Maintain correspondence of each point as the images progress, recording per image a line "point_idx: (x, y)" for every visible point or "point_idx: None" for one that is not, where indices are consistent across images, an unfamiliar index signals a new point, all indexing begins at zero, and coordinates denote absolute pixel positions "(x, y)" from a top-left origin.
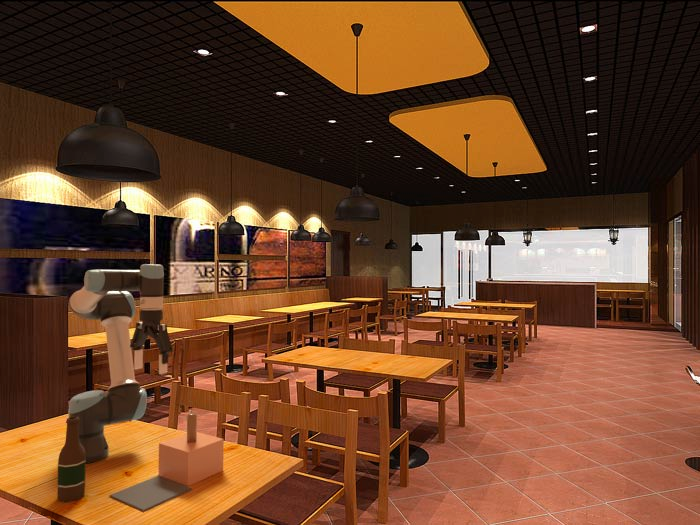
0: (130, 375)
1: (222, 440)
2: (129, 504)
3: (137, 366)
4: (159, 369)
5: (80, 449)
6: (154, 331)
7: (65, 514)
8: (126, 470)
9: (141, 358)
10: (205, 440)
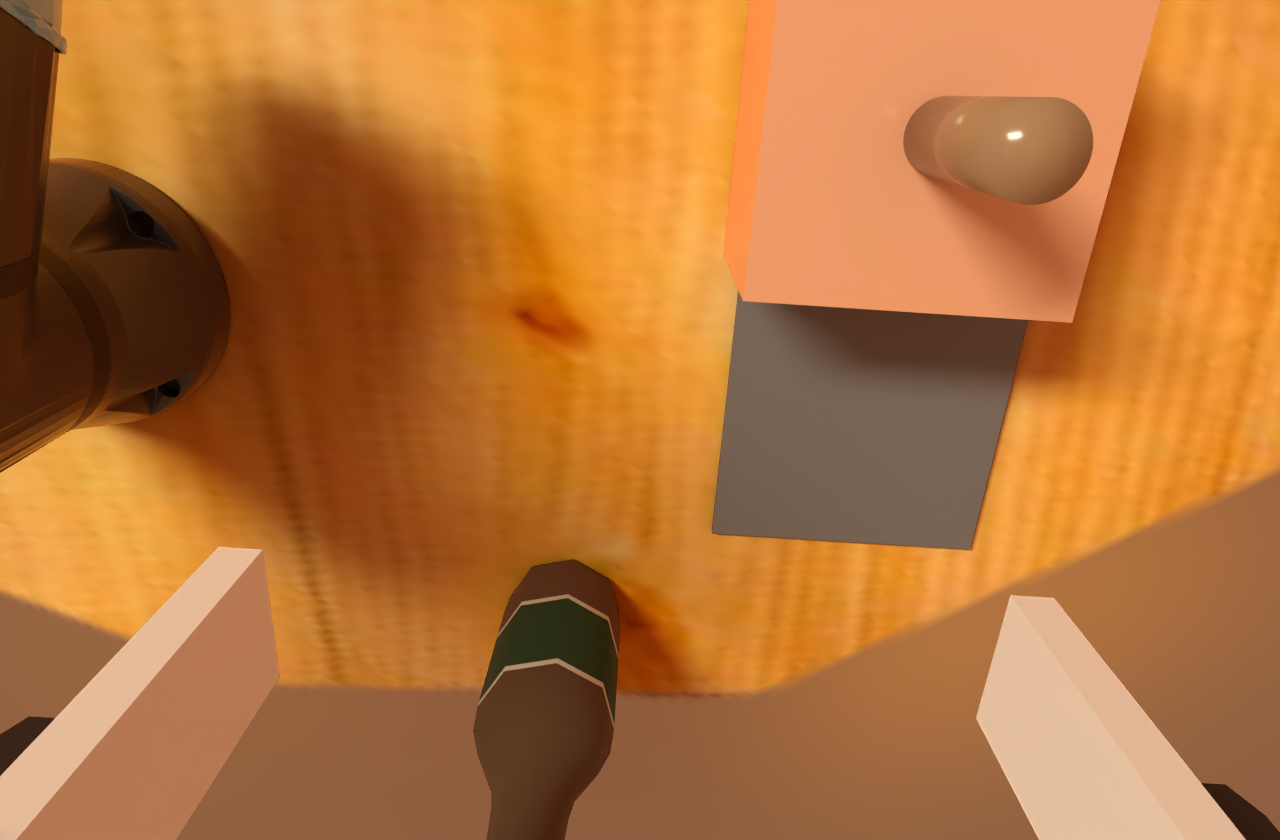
0: None
1: None
2: (865, 540)
3: (252, 681)
4: (1023, 781)
5: (588, 753)
6: None
7: (693, 687)
8: (501, 300)
9: (145, 717)
10: (1041, 62)
